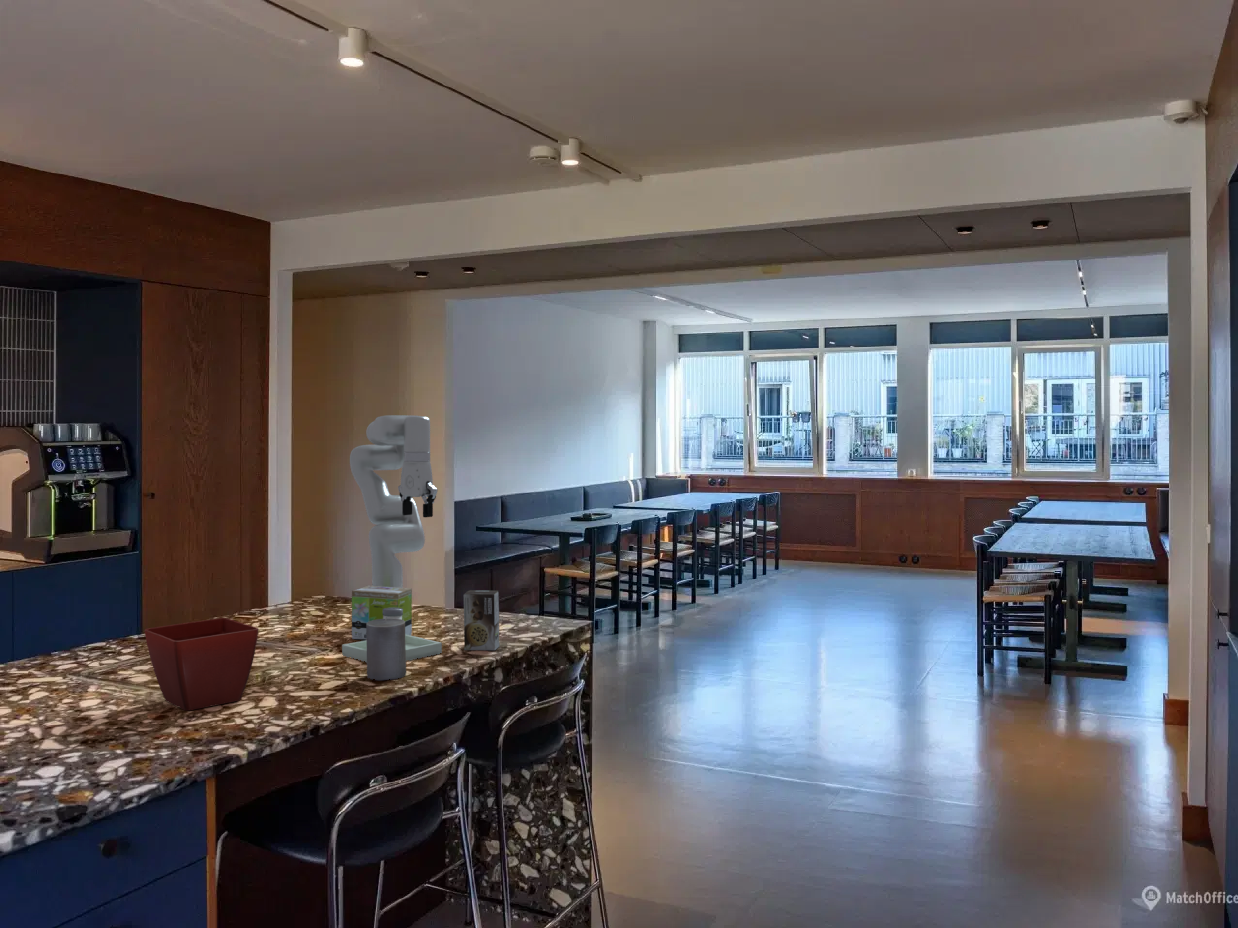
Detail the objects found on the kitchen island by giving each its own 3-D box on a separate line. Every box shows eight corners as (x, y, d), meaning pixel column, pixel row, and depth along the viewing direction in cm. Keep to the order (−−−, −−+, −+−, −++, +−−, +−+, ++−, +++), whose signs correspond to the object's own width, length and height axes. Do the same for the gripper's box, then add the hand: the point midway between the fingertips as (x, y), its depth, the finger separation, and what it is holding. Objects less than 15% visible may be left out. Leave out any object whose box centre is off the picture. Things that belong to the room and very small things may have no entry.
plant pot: (143, 700, 233) (142, 627, 232) (225, 685, 246) (225, 616, 245) (176, 718, 219) (175, 641, 218) (261, 701, 232) (260, 628, 232)
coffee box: (500, 645, 291) (500, 590, 290) (495, 650, 284) (495, 593, 284) (468, 645, 292) (468, 589, 291) (463, 650, 285) (463, 593, 284)
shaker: (378, 650, 279) (378, 609, 279) (393, 647, 283) (394, 606, 283) (390, 653, 275) (391, 611, 275) (406, 650, 280) (406, 609, 279)
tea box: (350, 640, 298) (350, 590, 297) (367, 633, 307) (366, 584, 307) (397, 643, 294) (397, 592, 293) (412, 635, 304) (412, 586, 303)
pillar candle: (384, 669, 263) (383, 611, 262) (414, 673, 258) (413, 615, 257) (358, 678, 254) (357, 618, 253) (388, 682, 250) (387, 622, 249)
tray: (342, 655, 278) (342, 644, 277) (402, 643, 293) (402, 633, 293) (381, 666, 266) (381, 654, 266) (441, 653, 281) (441, 642, 281)
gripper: (389, 457, 301) (389, 514, 302) (425, 459, 290) (425, 518, 291) (409, 457, 307) (409, 513, 308) (446, 458, 296) (446, 517, 296)
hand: (417, 515), depth 299 cm, fingers open, 9 cm apart
